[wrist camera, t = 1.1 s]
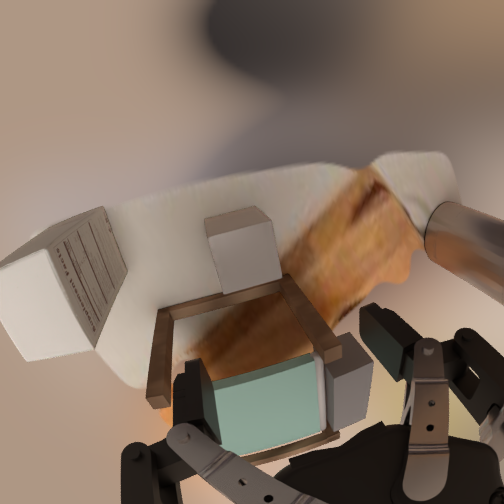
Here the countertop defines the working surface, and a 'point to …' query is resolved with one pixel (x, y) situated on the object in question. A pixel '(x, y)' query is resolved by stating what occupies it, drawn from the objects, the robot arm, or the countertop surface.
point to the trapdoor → (293, 399)
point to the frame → (295, 298)
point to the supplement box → (61, 287)
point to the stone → (243, 249)
